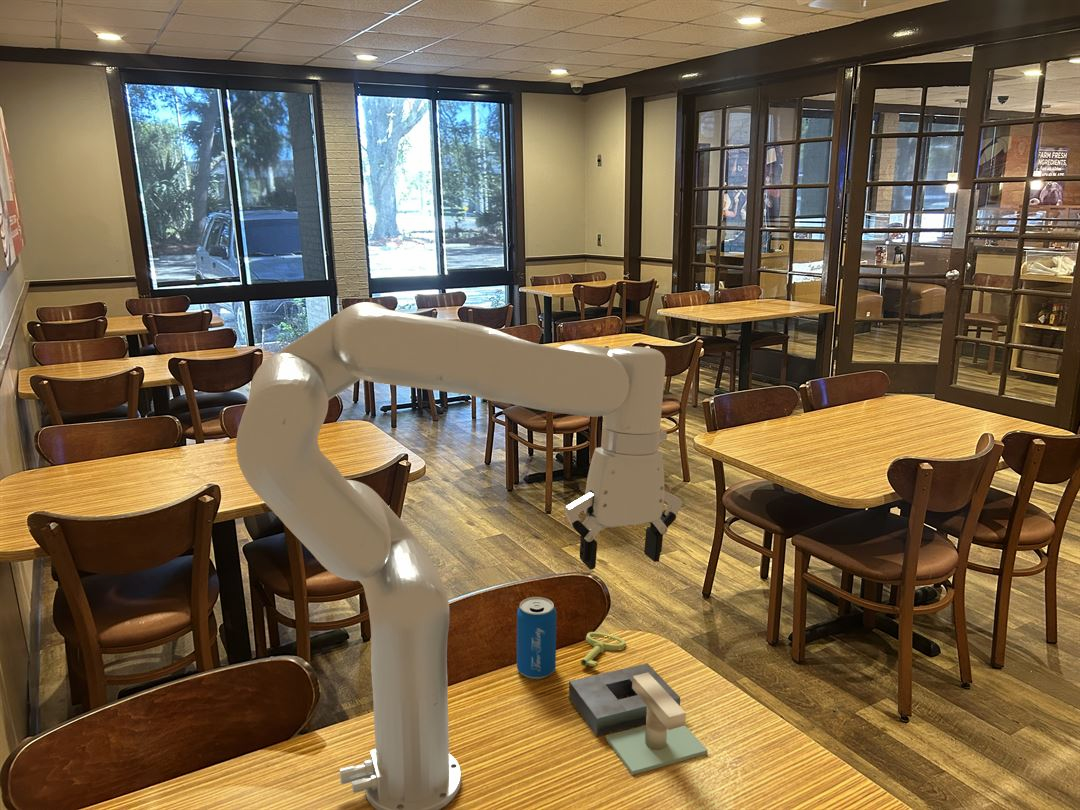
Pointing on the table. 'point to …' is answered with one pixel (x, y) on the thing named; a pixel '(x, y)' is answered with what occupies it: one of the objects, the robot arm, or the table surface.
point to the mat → (644, 758)
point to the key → (600, 647)
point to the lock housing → (613, 699)
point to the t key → (657, 710)
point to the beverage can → (536, 637)
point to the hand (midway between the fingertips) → (620, 561)
